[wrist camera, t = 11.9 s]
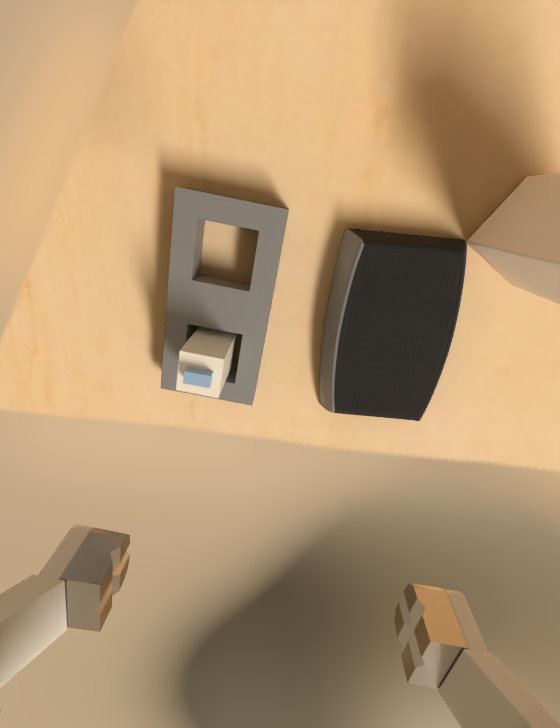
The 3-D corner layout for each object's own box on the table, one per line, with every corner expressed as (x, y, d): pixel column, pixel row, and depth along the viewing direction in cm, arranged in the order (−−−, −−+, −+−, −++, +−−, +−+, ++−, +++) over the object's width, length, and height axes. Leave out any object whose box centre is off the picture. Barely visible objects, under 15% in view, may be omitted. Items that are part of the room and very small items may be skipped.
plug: (201, 323, 41) (176, 354, 33) (237, 331, 41) (221, 363, 33) (197, 357, 42) (172, 395, 34) (232, 364, 43) (216, 403, 34)
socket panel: (184, 187, 36) (174, 186, 33) (288, 209, 36) (287, 209, 33) (169, 376, 44) (160, 388, 41) (255, 392, 44) (252, 405, 41)
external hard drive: (312, 400, 44) (313, 419, 41) (337, 226, 37) (342, 229, 33) (423, 412, 44) (434, 432, 41) (471, 240, 37) (491, 244, 33)
